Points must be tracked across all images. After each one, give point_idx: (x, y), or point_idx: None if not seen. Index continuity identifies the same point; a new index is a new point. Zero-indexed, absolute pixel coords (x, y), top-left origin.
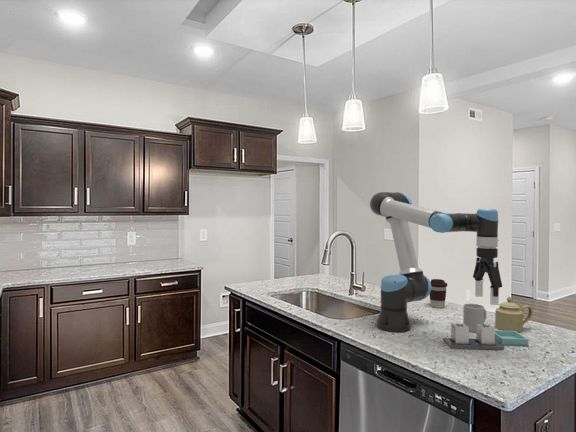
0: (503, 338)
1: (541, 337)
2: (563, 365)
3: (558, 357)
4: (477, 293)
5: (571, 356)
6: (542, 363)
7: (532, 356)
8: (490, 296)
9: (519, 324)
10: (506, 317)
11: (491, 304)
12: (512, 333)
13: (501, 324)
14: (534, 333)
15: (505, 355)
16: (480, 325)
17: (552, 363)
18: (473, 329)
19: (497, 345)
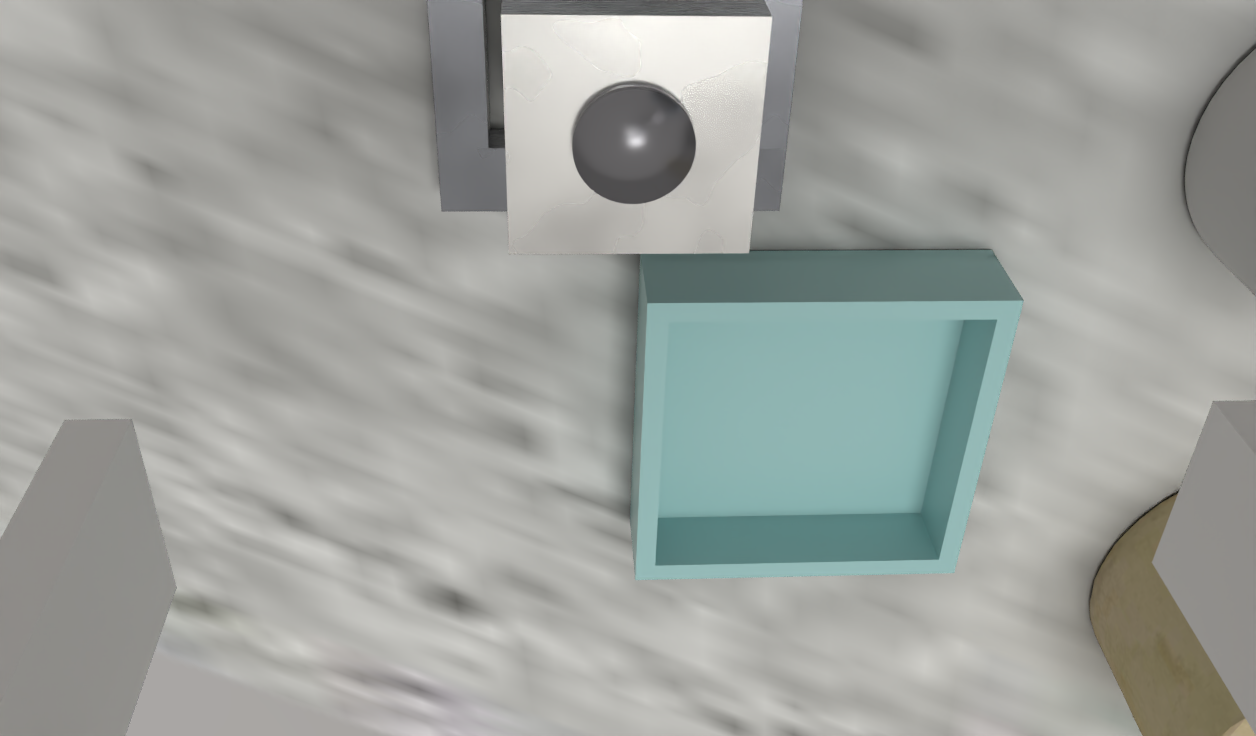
0: (649, 321)
1: (907, 730)
2: None
3: (311, 627)
4: (1252, 506)
5: (367, 727)
6: None
7: (280, 419)
8: (36, 614)
9: (1126, 696)
10: None
11: (68, 434)
12: (934, 521)
13: None
14: (1036, 726)
15: (235, 125)
16: (666, 55)
17: None
18: (1240, 105)
19: (502, 155)
